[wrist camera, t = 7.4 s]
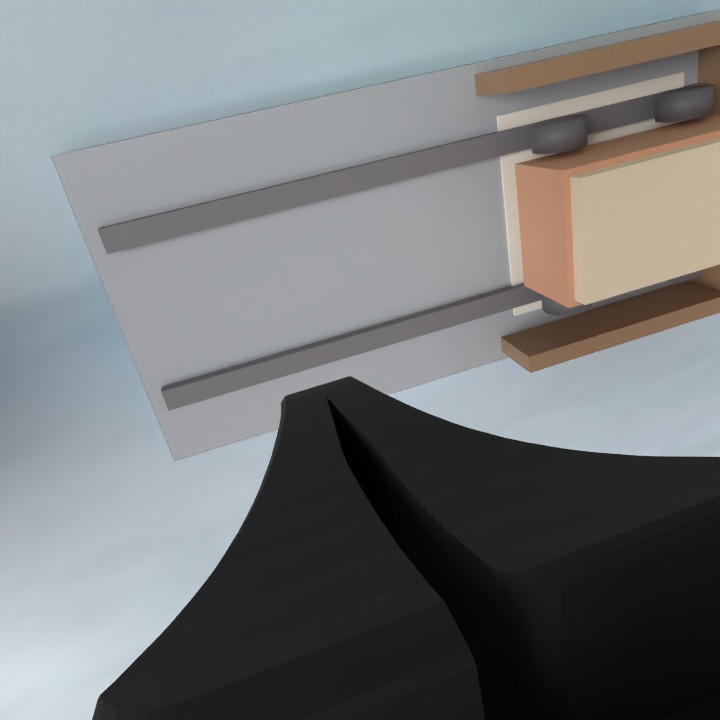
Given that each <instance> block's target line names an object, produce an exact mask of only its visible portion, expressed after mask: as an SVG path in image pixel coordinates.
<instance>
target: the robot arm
mask: <svg viewBox="0 0 720 720" xmlns="http://www.w3.org/2000/svg"><path fill="white" fill-rule="evenodd" d="M92 720H720V457H661V456H635V455H622V454H609V453H596V452H587V451H578V450H570V449H563V448H557V447H551V446H545V445H539V444H533V443H527V442H522V441H517V440H512V439H508V438H504V437H500V436H496V435H492V434H489V433H485V432H481V431H477V430H474V429H470V428H467V427H464V426H461V425H458V424H455V423H452V422H449V421H446V420H444V419H441V418H438V417H436V416H433V415H430V414H428V413H425V412H423V411H421V410H418V409H416V408H414V407H411V406H409V405H407V404H405V403H403V402H400V401H398V400H396V399H394V398H392V397H390V396H388V395H386V394H384V393H382V392H380V391H378V390H376V389H374V388H372V387H371V386H369V385H367V384H365V383H363V382H361V381H359V380H357V379H355V378H353V377H351V376H348V377H345V378H341V379H338V380H335V381H332V382H328V383H325V384H322V385H319V386H315V387H312V388H309V389H306V390H302V391H299V392H296V393H293V394H289V395H286V396H285V397H284V398H283V400H282V402H281V418H280V424H279V429H278V434H277V438H276V442H275V445H274V449H273V453H272V456H271V459H270V462H269V465H268V468H267V470H266V473H265V476H264V479H263V481H262V484H261V487H260V489H259V491H258V494H257V496H256V498H255V500H254V503H253V505H252V507H251V509H250V511H249V513H248V515H247V517H246V519H245V521H244V522H243V524H242V526H241V528H240V530H239V532H238V533H237V535H236V537H235V538H234V540H233V542H232V543H231V545H230V546H229V548H228V550H227V551H226V553H225V555H224V556H223V558H222V559H221V561H220V562H219V564H218V565H217V567H216V568H215V570H214V571H213V572H212V574H211V575H210V576H209V578H208V579H207V580H206V582H205V583H204V584H203V585H202V587H201V588H200V589H199V591H198V592H197V593H196V594H195V596H194V597H193V598H192V599H191V600H190V602H189V603H188V604H187V605H186V606H185V608H184V609H183V610H182V611H181V612H180V613H179V615H178V616H177V617H176V618H175V619H174V620H173V622H172V623H171V624H170V625H169V626H168V627H167V628H166V629H165V630H164V632H163V633H162V634H161V635H160V636H159V637H158V638H157V639H156V640H155V641H154V642H153V643H152V644H151V645H150V646H149V647H148V648H147V649H146V650H145V651H144V652H143V653H142V654H141V655H140V656H139V657H138V658H137V659H136V660H135V661H134V662H133V663H132V664H131V665H130V666H129V667H128V668H127V669H126V670H125V671H124V672H123V673H122V674H121V676H120V677H119V678H118V679H117V680H116V681H115V682H114V683H112V684H111V685H110V686H109V687H108V688H107V689H106V690H105V691H104V692H103V693H102V694H101V695H100V696H99V698H98V701H97V704H96V708H95V712H94V715H93V719H92Z"/></svg>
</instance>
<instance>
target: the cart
mask: <svg viewBox="0 0 720 720" xmlns="http://www.w3.org/2000/svg"><path fill="white" fill-rule="evenodd" d="M714 87H715V85H714V84H706V85H696V86H689V87H683V88H677V89H672V90H667V91H663V92H660V93H657V94H656V99H655V122H658V123H667V122H678V121H683V122H679V123H675V124H671V125H667V126H663V127H659V128H655V129H651V130H647V131H643V132H639V133H635V134H631V135H627V136H623V137H619V138H616V139H612V140H608V141H604V142H600V143H596V144H592V145H588V137H587V115H571V116H564V117H558V118H552V119H548V120H543V121H539V122H536V123H533V124H531V125H530V128H531V144H532V153H533V154H552V155H548V156H544V157H540V158H536V159H533V160H529V161H525V162H521V163H517V164H515V173H516V186H517V199H518V212H519V225H520V237H521V250H522V263H523V276H524V286H525V287H527V288H529V289H531V290H533V291H536V292H538V293H540V294H541V299H542V310H543V311H544V312H545V313H547V314H551V315H556V316H569V315H576V314H580V313H583V312H585V311H587V310H589V309H590V308H591V306H592V303H594V302H597V301H600V300H604V299H607V298H610V297H613V296H617V295H620V294H623V293H627V292H630V291H633V290H637V289H640V288H643V287H647V286H650V285H653V284H656V283H660V282H663V281H686V280H691V279H695V278H698V277H700V276H701V275H702V274H703V269H706V268H709V267H713V266H716V265H719V264H720V115H711V114H713V104H714ZM686 120H687V121H686ZM587 145H588V146H587ZM554 153H556V154H554Z"/></svg>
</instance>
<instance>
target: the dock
mask: <svg viewBox="0 0 720 720" xmlns="http://www.w3.org/2000/svg"><path fill="white" fill-rule="evenodd" d="M706 84H714V85H715V87H714V104H713V114H711V115H720V10H715V11H710V12H705V13H701V14H696V15H692V16H687V17H683V18H678V19H673V20H669V21H664V22H660V23H655V24H651V25H646V26H642V27H637V28H632V29H628V30H623V31H619V32H614V33H610V34H605V35H601V36H596V37H591V38H587V39H582V40H578V41H573V42H569V43H564V44H560V45H555V46H550V47H546V48H541V49H537V50H532V51H528V52H523V53H519V54H514V55H509V56H505V57H500V58H496V59H491V60H487V61H482V62H477V63H473V64H468V65H464V66H459V67H455V68H450V69H446V70H441V71H436V72H432V73H427V74H423V75H418V76H414V77H409V78H405V79H400V80H395V81H391V82H386V83H382V84H377V85H373V86H368V87H364V88H359V89H354V90H350V91H345V92H341V93H336V94H332V95H327V96H323V97H318V98H313V99H309V100H304V101H300V102H295V103H291V104H286V105H282V106H277V107H272V108H268V109H263V110H259V111H254V112H250V113H245V114H241V115H236V116H231V117H227V118H222V119H218V120H213V121H209V122H204V123H200V124H195V125H190V126H186V127H181V128H177V129H172V130H168V131H163V132H159V133H154V134H149V135H145V136H140V137H136V138H131V139H127V140H122V141H117V142H113V143H108V144H104V145H99V146H95V147H90V148H86V149H81V150H76V151H72V152H67V153H63V154H58V155H55V156H51V158H52V161H53V163H54V166H55V168H56V171H57V173H58V175H59V178H60V180H61V183H62V185H63V188H64V190H65V193H66V195H67V198H68V200H69V203H70V205H71V208H72V210H73V213H74V215H75V217H76V220H77V222H78V225H79V227H80V230H81V232H82V235H83V237H84V240H85V242H86V245H87V247H88V250H89V252H90V254H91V257H92V259H93V262H94V264H95V267H96V269H97V272H98V274H99V277H100V279H101V282H102V284H103V287H104V289H105V292H106V294H107V296H108V299H109V301H110V304H111V306H112V309H113V311H114V314H115V316H116V319H117V321H118V324H119V326H120V329H121V331H122V333H123V336H124V338H125V341H126V343H127V346H128V348H129V351H130V353H131V356H132V358H133V361H134V363H135V366H136V368H137V371H138V373H139V375H140V378H141V380H142V383H143V385H144V388H145V390H146V393H147V395H148V398H149V400H150V403H151V405H152V408H153V410H154V413H155V415H156V417H157V420H158V422H159V425H160V427H161V430H162V432H163V435H164V437H165V440H166V442H167V445H168V447H169V450H170V452H171V454H172V457H173V459H174V461H177V460H180V459H183V458H186V457H189V456H193V455H196V454H199V453H202V452H205V451H209V450H212V449H215V448H218V447H221V446H225V445H228V444H231V443H234V442H238V441H241V440H244V439H247V438H250V437H254V436H257V435H260V434H263V433H266V432H270V431H273V430H276V429H279V424H280V418H281V402H282V400H283V398H284V397H285V396H286V395H289V394H293V393H296V392H299V391H302V390H306V389H309V388H312V387H315V386H319V385H322V384H325V383H328V382H332V381H335V380H338V379H341V378H345V377H348V376H351V377H353V378H355V379H357V380H359V381H361V382H363V383H365V384H367V385H369V386H371V387H372V388H374V389H376V390H378V391H380V392H382V393H384V394H386V395H388V394H392V393H395V392H398V391H401V390H404V389H408V388H411V387H414V386H417V385H420V384H424V383H427V382H430V381H433V380H436V379H440V378H443V377H446V376H449V375H453V374H456V373H459V372H462V371H465V370H469V369H472V368H475V367H478V366H481V365H485V364H488V363H491V362H494V361H497V360H501V359H504V358H507V357H510V358H511V359H513V360H514V361H515V362H517V363H518V364H519V365H521V366H522V367H523V368H525V369H526V370H527V371H529V372H530V373H531V372H534V371H537V370H540V369H543V368H547V367H550V366H553V365H556V364H559V363H562V362H565V361H569V360H572V359H575V358H578V357H581V356H584V355H587V354H591V353H594V352H597V351H600V350H603V349H606V348H609V347H613V346H616V345H619V344H622V343H625V342H628V341H631V340H635V339H638V338H641V337H644V336H647V335H650V334H653V333H656V332H660V331H663V330H666V329H669V328H672V327H675V326H678V325H682V324H685V323H688V322H691V321H694V320H697V319H700V318H704V317H707V316H710V315H713V314H716V313H719V312H720V264H719V265H716V266H713V267H709V268H706V269H703V274H702V275H701V276H700V277H698V278H695V279H691V280H686V281H663V282H660V283H656V284H653V285H650V286H647V287H643V288H640V289H637V290H633V291H630V292H627V293H623V294H620V295H617V296H613V297H610V298H607V299H604V300H600V301H597V302H594V303H592V306H591V308H590V309H589V310H587V311H585V312H583V313H580V314H576V315H569V316H556V315H551V314H547V313H545V312H544V311H543V310H542V299H541V294H540V293H538V292H536V291H533V290H531V289H529V288H527V287H525V286H524V276H523V263H522V250H521V237H520V225H519V212H518V199H517V186H516V173H515V164H517V163H521V162H525V161H529V160H533V159H536V158H540V157H544V156H548V155H552V154H533V153H532V144H531V128H530V125H531V124H533V123H536V122H539V121H543V120H548V119H552V118H558V117H564V116H571V115H587V137H588V145H592V144H596V143H600V142H604V141H608V140H612V139H616V138H619V137H623V136H627V135H631V134H635V133H639V132H643V131H647V130H651V129H655V128H659V127H663V126H667V125H671V124H675V123H679V122H683V121H678V122H667V123H658V122H655V99H656V94H657V93H660V92H663V91H667V90H672V89H677V88H683V87H689V86H696V85H706ZM686 121H687V120H686ZM588 145H587V146H588ZM554 154H556V153H554Z"/></svg>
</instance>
